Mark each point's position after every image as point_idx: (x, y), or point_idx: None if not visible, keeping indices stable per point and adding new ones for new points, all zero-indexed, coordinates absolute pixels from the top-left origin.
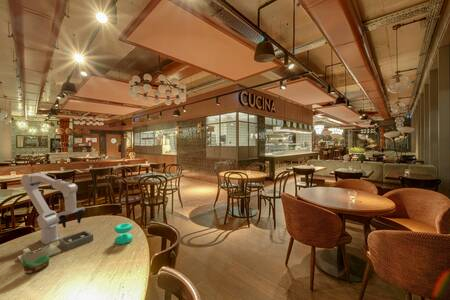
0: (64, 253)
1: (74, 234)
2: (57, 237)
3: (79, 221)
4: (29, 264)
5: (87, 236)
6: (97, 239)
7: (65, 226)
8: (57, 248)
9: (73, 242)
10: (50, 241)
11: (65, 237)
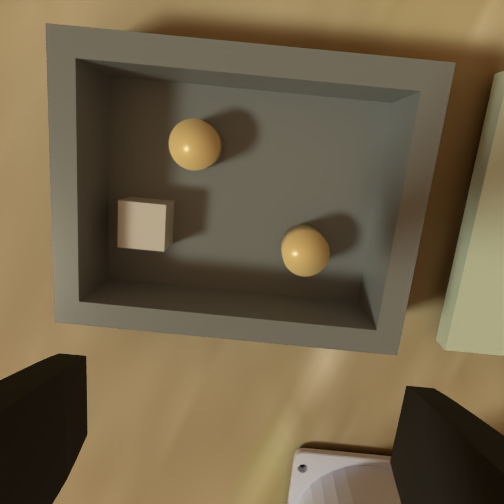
0: (481, 10)
1: (213, 315)
2: (308, 492)
3: (47, 373)
4: None
5: (135, 40)
6: (46, 10)
7: (428, 397)
8: (496, 168)
9: (353, 56)
10: (390, 466)
11: (330, 328)
